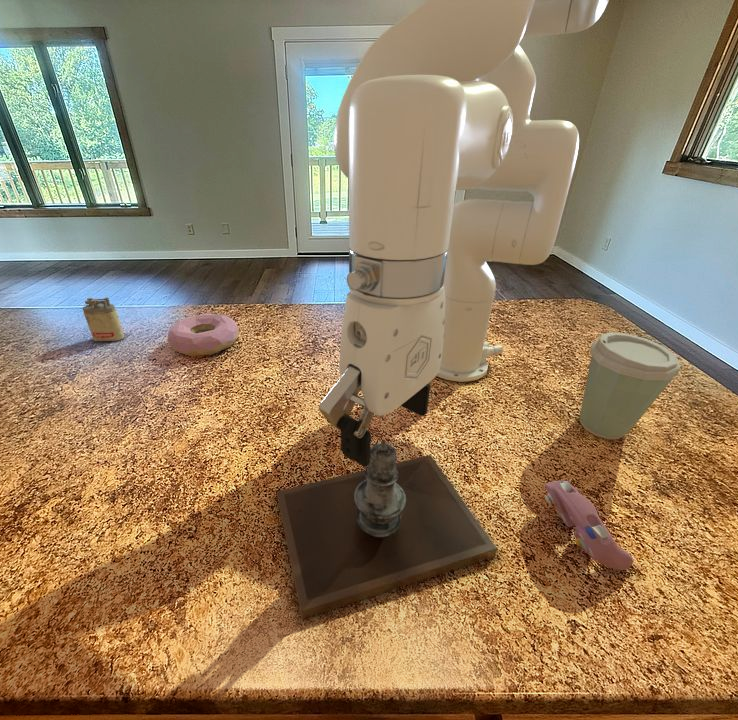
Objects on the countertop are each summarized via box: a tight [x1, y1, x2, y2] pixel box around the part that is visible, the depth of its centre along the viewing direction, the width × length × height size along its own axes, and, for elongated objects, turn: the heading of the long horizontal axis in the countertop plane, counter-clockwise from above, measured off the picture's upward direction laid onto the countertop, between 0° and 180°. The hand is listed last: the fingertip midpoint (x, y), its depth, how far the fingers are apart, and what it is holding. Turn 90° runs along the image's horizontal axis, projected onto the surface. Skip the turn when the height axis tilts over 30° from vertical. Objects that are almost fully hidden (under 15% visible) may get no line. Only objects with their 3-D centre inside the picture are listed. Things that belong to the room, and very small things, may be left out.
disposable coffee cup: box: [578, 331, 681, 440], centre depth 57 cm, size 11×11×15 cm
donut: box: [167, 312, 239, 357], centre depth 86 cm, size 16×15×5 cm
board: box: [276, 454, 498, 620], centre depth 45 cm, size 22×15×2 cm
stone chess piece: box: [354, 440, 406, 537], centre depth 42 cm, size 6×6×12 cm
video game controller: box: [544, 480, 634, 571], centre depth 43 cm, size 10×5×7 cm, turn 5°
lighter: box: [82, 297, 126, 342], centre depth 88 cm, size 7×4×10 cm, turn 91°
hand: (386, 432), depth 39 cm, fingers open, 9 cm apart
